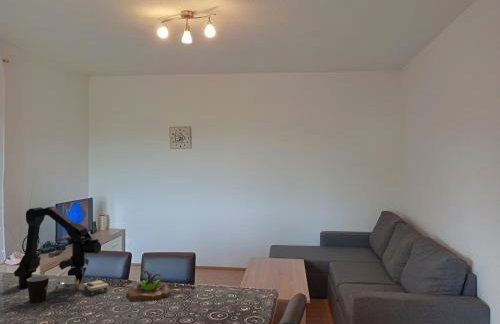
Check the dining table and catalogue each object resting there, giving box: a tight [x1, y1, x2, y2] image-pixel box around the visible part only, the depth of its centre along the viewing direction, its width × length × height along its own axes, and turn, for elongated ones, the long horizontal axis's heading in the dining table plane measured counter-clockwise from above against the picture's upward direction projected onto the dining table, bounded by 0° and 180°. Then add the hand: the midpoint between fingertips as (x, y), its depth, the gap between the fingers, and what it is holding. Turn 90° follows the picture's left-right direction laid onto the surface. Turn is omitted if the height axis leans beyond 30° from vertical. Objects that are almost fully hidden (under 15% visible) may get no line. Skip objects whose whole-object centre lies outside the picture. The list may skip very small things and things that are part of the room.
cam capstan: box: [52, 278, 80, 293], centre depth 176 cm, size 12×6×5 cm, turn 87°
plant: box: [126, 270, 171, 302], centre depth 173 cm, size 20×20×11 cm
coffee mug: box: [27, 275, 50, 304], centre depth 165 cm, size 12×9×10 cm
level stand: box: [69, 279, 109, 296], centre depth 176 cm, size 15×13×5 cm
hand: (78, 284), depth 179 cm, fingers closed
